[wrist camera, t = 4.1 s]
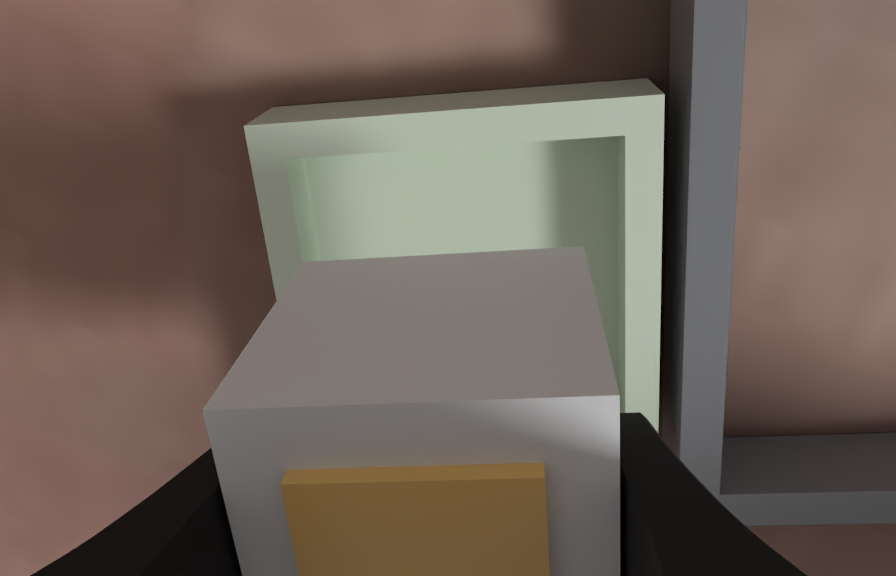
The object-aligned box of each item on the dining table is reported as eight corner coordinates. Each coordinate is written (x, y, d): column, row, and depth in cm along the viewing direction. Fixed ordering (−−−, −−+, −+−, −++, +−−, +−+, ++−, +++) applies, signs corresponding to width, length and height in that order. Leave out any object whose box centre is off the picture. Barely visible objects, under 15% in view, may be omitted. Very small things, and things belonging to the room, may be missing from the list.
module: (588, 483, 15) (623, 724, 11) (341, 488, 16) (267, 722, 11) (583, 246, 14) (623, 409, 9) (303, 261, 14) (192, 423, 9)
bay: (643, 409, 22) (657, 458, 20) (327, 420, 23) (307, 468, 21) (647, 78, 18) (664, 94, 16) (273, 107, 19) (243, 125, 17)
